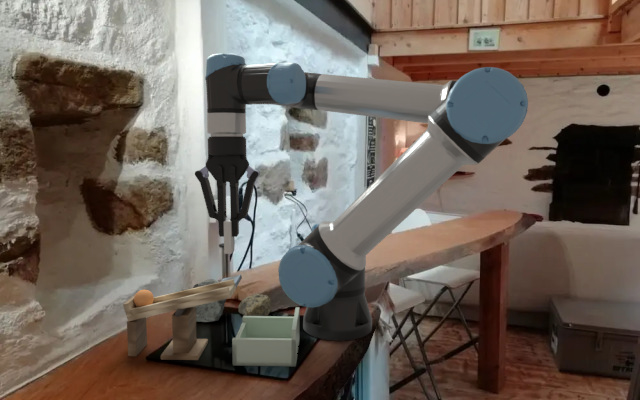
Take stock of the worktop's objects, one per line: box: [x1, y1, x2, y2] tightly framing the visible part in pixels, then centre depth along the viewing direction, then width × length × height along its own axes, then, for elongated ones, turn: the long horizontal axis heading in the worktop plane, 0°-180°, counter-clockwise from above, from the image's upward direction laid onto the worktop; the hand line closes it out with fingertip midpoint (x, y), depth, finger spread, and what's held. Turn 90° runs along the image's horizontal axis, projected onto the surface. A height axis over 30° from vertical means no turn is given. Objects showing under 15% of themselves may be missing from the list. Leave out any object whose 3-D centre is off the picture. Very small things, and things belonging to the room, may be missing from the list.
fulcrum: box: [126, 306, 209, 361], centre depth 98 cm, size 14×8×8 cm, turn 89°
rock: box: [237, 292, 273, 316], centre depth 118 cm, size 7×8×4 cm
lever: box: [122, 274, 243, 321], centre depth 100 cm, size 20×14×4 cm
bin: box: [231, 306, 301, 367], centre depth 98 cm, size 12×12×7 cm
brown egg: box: [134, 289, 155, 307], centre depth 97 cm, size 4×4×4 cm
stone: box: [192, 278, 227, 323], centre depth 116 cm, size 10×10×10 cm
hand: (229, 252), depth 103 cm, fingers closed
